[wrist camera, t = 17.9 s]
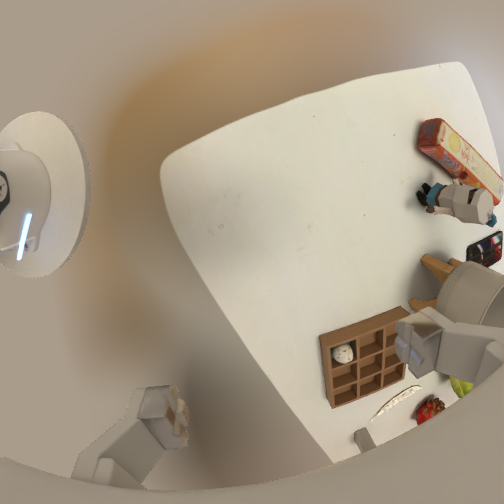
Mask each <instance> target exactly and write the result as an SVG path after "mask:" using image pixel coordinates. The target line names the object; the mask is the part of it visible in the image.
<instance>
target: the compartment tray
mask: <svg viewBox="0 0 504 504" xmlns="http://www.w3.org/2000/svg"><path fill="white" fill-rule="evenodd" d="M410 315H411V314H410V313H408V312H407V311H406V310H405V309H403V308H402V307H401V306H400V307H397V308H395V309H392V310H390V311H387V312H385V313H382V314H380V315H377V316H374V317H372V318H369V319H366V320H364V321H361V322H358V323H355V324H353V325H350V326H347V327H344V328H341V329H338V330H335V331H332V332H329V333H326V334H323V335H320V343H321V351H322V359H323V367H324V376H325V385H326V394H327V399H328V401H329V403H330V406H331V408H332V409H334V408H336V407H339V406H342V405H345V404H347V403H350V402H353V401H355V400H358V399H360V398H363V397H365V396H368V395H370V394H372V393H375V392H377V391H379V390H382V389H384V388H386V387H388V386H390V385H393V384H395V383H397V382H399V381H401V380H403V379H404V376H405V369H406V363H403V362H401V360H400V359H399V358H398V356H397V354H396V351H395V339H396V337H397V336H398V333H397V332H396V331H395V325H396V323H397V321H399V320H401V319H403V318H406V317H408V316H410ZM344 343H347V344H348V345H349V346H350V347H351V349H352V352H353V359H352V361H350V362H349V363H347V364H344V363H340V362H338V361H337V360H335V358H334V357H333V354H332V351H333V348H334V347H335V346H338V345H341V344H344Z"/></svg>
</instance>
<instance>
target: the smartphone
mask: <svg viewBox="0 0 504 504" xmlns="http://www.w3.org/2000/svg"><path fill="white" fill-rule="evenodd" d="M502 240H503V233H502V231H499V232H497V233H495V234H493V235H491V236H489V237H487V238H485V239H483V240H481V241H479V242H477V243H475V244H473V245H471V246H469V247H468V250H467V261H473V262H475V263H478V264H480V265H482V266H485V267H487V268H488V267H489V266H491V265H493V264H494V263H496V262H497V261H499V260H500V259H501V257H502Z"/></svg>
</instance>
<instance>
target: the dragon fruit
mask: <svg viewBox="0 0 504 504" xmlns="http://www.w3.org/2000/svg"><path fill="white" fill-rule="evenodd" d="M444 405H445V404H444V403H443V402H442V401H441V400H440V401H439V398H436V399H434V400H433V402H432V399H430V400H428V401H426V402H425V403H424V406H423V407H421V408H419V410H418V411H416V412H417V413H418V414H417V415H418V416H417V424H418V425H420V424H422V423H424V422H425V421H427V420H429V419H430V418H432V417H434V416H435V415H437V414H438V413H440V412H441V411H443V410H445V407H444Z"/></svg>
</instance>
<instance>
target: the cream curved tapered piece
mask: <svg viewBox="0 0 504 504" xmlns="http://www.w3.org/2000/svg"><path fill="white" fill-rule="evenodd" d="M418 389H422V387H421V386H413V387H411V388H409V389H407V390H405V391H404V392H402V393H401V394H399V395H398V396H396V397H395V398H393V399H392V400H391V401H390V402H389V403H387V404H386V405H385V406H384V407H383V408H382V409H381V410H380V412H379V413H378V414H377V415H376V416H375V417H374V418H373V419H372V420H371V421H370V422H372V421H373V420H374V419H375V418H376V417H377V416H378V415H380V414H381V413H383V412H385V411H386V412H387V411H389V410H390V407H392V406H395V405H396V404H397V403H398V402H401V401H402V400H403V399H404V398H405V397H406V398H407V397H409V396H410V394H414V393H415V391H417V390H418Z"/></svg>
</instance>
